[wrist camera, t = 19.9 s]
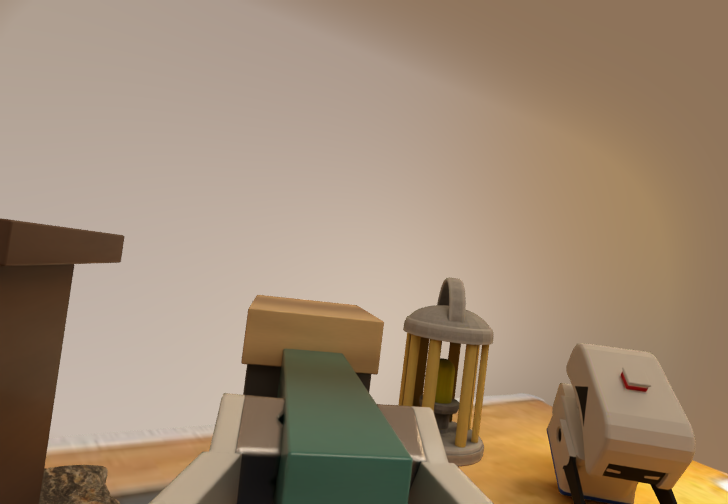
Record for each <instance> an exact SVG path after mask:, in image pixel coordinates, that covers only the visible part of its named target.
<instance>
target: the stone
mask: <svg viewBox="0 0 728 504" xmlns="http://www.w3.org/2000/svg"><path fill="white" fill-rule="evenodd" d="M106 478H107V468H106V467H104V466H93V465H71V466H61V467H55V468H48V469H44V473H43V480H42V486H41V493H40V500H39V504H120V503H119V502H118V501H117V500H116V499H114V498H113V497H111V496H110V492H109V490H108V488H107V486H106V484H105V483H106Z"/></svg>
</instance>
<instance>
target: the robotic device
mask: <svg viewBox="0 0 728 504" xmlns="http://www.w3.org/2000/svg"><path fill="white" fill-rule="evenodd" d="M567 374H568V377H569V379H570V380H571V384H572V385H571V384H565V383H560V384H559V388H558V391H557V394H556V397H555V401H554V404H553V411H552V414H553V416H552V418H551V421H550V423H549V425H548V428H547V434H548V439H549V444H550V449H551V454H552V459H553V464H554V469H555V474H556V479H557V484H558V489H559V492H560V494H562V495H565V496H570V497H572V499H573V502H574V504H585V500H584V499H587V500H593V501H598V502H604V503H609V504H633V503H634V497H635V490H636V487H637V484H638V482H642V483H648V484H651V486H652V488H653V490H654V492H655V494H656V496H657V498H658V501H659V503H660V504H677V502H676V499H675V497H674V494H673V492H672V489H671V488H673V486H674V485H675V484H676V482H677V481H678V480H679V478H680V477H681V475H682V474H683V473H684V471H685V470H686V469H687V467H688V466H689V464H690V463H691V461H692V459H693V456H694V453H695V436H694V433H693V430H692V427H691V425H690V423H689V421H688V419H687V417H686V415H685V413H684V411H683V409H682V407H681V406H680V403H679V401H678V399H677V397H676V395H675V393H674V391H673V390H672V387H671V385H670V384H669V381H668V380H667V378H666V376H665V374H664V372H663V370H662V368H661V366H660V364H659V362H658V360H657V359H656V358H655V357H654V356H653V354H652V353H649V352H643V351H636V350H629V349H621V348H614V347H607V346H600V345H593V344H585V343H579V344H577V345H576V346H575V347H574V349H573V351H572V353H571V356H570V359H569V361H568V363H567Z"/></svg>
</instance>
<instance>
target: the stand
mask: <svg viewBox="0 0 728 504" xmlns="http://www.w3.org/2000/svg"><path fill="white" fill-rule="evenodd" d="M123 242H124V236H123V235H117V234H110V233H102V232H95V231H88V230H81V229H73V228H66V227H59V226H52V225H44V224H37V223H30V222H22V221H15V220H8V219H0V504H39V500H40V493H41V486H42V480H43V473H44V466H45V459H46V453H47V446H48V439H49V431H50V425H51V419H52V412H53V405H54V398H55V392H56V385H57V378H58V370H59V364H60V358H61V351H62V344H63V337H64V331H65V323H66V317H67V309H68V304H69V297H70V290H71V283H72V276H73V270H74V264H87V263H117V262H121V256H122V249H123Z"/></svg>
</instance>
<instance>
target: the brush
mask: <svg viewBox="0 0 728 504" xmlns="http://www.w3.org/2000/svg"><path fill="white" fill-rule="evenodd" d="M383 326H384V322H383V321H381V320H380V319H378V318H377V317H375V316H373V315H372V314H370V313H368V312H367V311H365V310H363V309H362V308H360V307H358V306H357V305H349V304H339V303H330V302H320V301H311V300H300V299H292V298H282V297H273V296H264V295H257V296H256V298H255V299H254V301H253V302H252V304H251V306H250V307H249V309H248V316H247V324H246V331H245V339H244V346H243V354H242V364H247V370H246V377H245V386H244V393H243V395H245V396H246V395H252V396H263V397H274V398H285V408H284V417H283V423H282V425H283V437H282V451H281V459H280V465H279V471H278V476H277V477H276V488H275V494H274V500H273V504H408V498H409V490H410V481H411V472H412V464H413V460H412V457H411V456H410V454H409V453H408V451H407V450H406V448H405V447H404V445H403V444H402V442H401V440H400V439H399V437H398V436H397V434H396V433H395V431H394V430H393V428H392V427H391V425H390V424H389V422H388V421H387V419H386V418H385V416H384V415H383V413H382V412H381V410H380V409H379V407H378V406H377V404H376V403H375V401H374V400H373V399H372V397H371V395H370V394H369V389H370V380H371V374H378V367H379V360H380V351H381V342H382V335H383Z"/></svg>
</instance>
